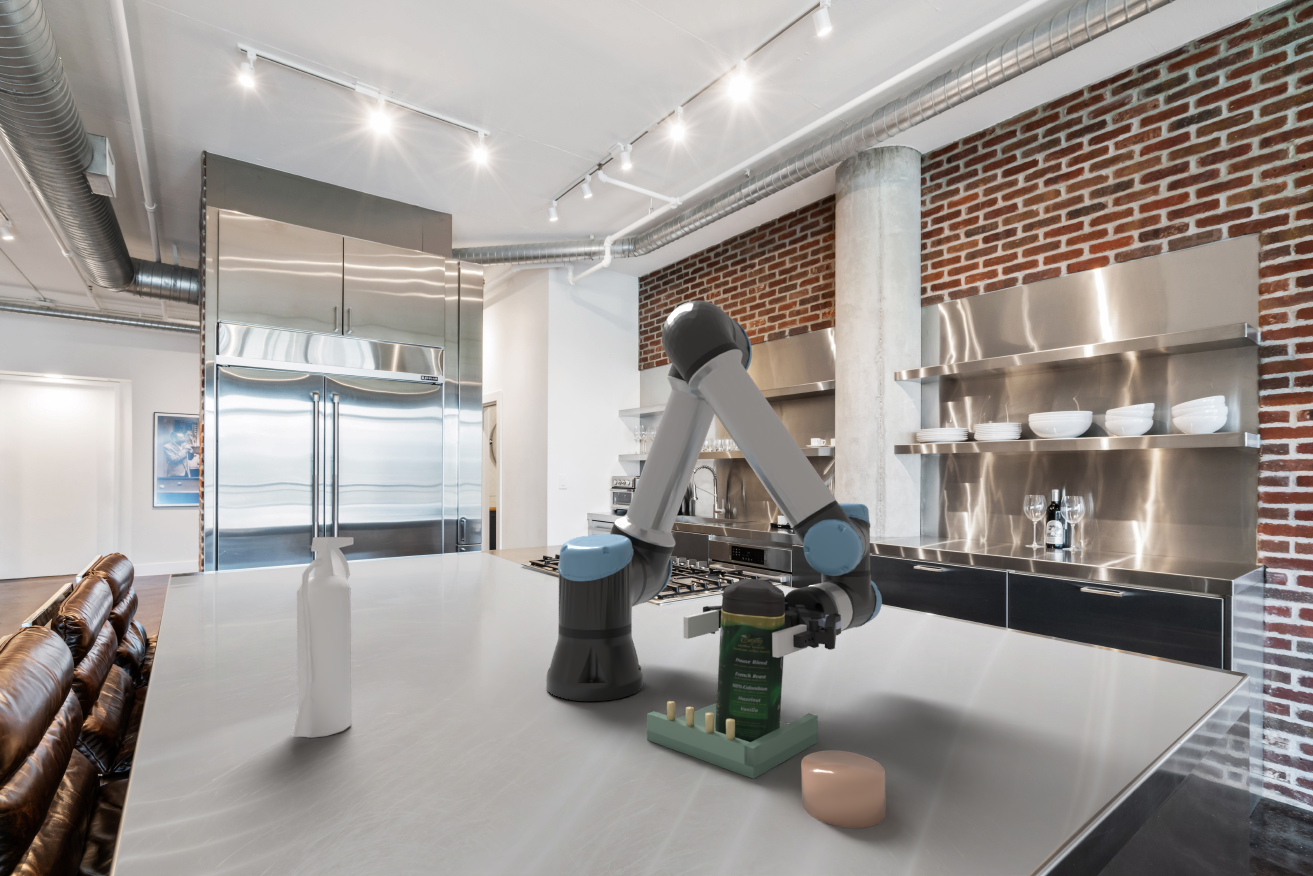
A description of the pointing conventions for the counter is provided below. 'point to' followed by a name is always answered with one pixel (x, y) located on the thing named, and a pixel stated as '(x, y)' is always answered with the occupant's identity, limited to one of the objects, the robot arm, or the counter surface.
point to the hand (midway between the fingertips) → (727, 636)
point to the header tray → (730, 739)
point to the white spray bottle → (324, 642)
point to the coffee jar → (750, 659)
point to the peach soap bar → (843, 788)
